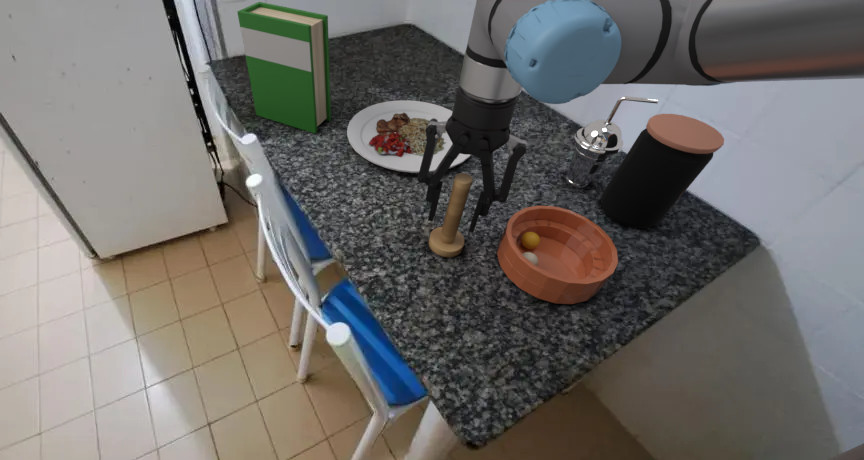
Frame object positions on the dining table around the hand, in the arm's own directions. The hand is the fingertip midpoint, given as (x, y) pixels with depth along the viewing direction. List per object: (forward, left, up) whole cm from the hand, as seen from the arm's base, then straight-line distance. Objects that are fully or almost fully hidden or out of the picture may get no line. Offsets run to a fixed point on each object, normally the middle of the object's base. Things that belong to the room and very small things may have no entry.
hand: (452, 220), depth 65 cm
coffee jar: (+22, -31, -6) cm, 38 cm away
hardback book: (+28, +45, -6) cm, 53 cm away
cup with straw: (+28, -22, -6) cm, 36 cm away
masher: (0, 0, -6) cm, 6 cm away
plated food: (+30, +15, -6) cm, 34 cm away
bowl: (+2, -17, -6) cm, 18 cm away
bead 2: (-1, -14, -4) cm, 14 cm away
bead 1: (+4, -14, -4) cm, 15 cm away
